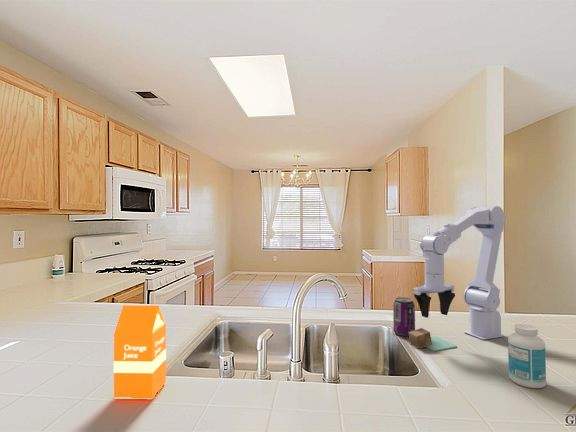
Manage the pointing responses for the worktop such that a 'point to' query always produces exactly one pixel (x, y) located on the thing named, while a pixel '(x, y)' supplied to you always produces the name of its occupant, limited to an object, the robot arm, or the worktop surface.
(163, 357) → the orange juice
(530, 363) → the pill bottle
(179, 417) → the worktop surface
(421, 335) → the walnut block
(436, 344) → the teal coaster
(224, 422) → the worktop surface
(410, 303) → the beverage can
